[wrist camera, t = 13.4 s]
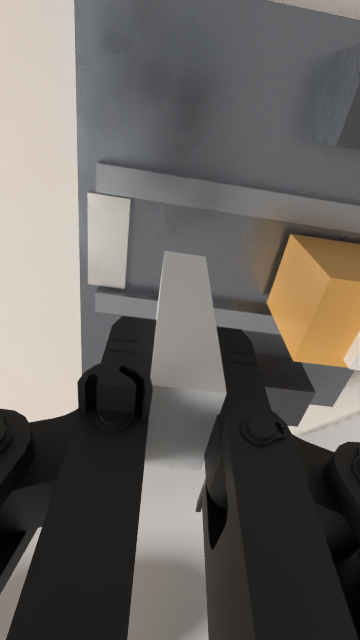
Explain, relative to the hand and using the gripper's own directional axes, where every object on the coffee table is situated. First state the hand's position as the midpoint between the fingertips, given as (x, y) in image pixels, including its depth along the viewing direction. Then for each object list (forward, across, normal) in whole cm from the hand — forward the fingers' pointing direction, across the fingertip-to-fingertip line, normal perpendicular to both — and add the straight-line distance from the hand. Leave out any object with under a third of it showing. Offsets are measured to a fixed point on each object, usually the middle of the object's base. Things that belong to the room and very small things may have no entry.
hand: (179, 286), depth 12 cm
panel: (+8, +4, -1) cm, 9 cm away
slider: (+5, +8, -1) cm, 9 cm away
